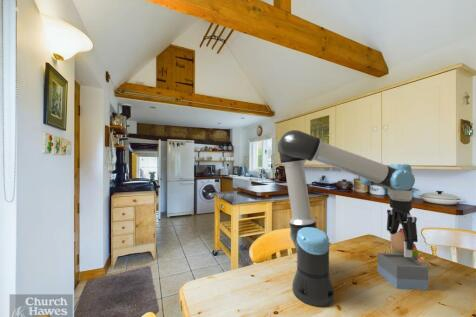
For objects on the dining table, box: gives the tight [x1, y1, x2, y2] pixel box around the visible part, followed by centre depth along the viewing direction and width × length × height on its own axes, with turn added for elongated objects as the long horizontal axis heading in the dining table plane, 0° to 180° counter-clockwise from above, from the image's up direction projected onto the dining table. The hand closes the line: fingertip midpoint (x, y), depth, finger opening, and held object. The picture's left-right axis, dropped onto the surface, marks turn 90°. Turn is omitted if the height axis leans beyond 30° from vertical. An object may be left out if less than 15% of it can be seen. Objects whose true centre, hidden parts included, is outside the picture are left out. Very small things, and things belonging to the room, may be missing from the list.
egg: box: [390, 231, 409, 254], centre depth 86 cm, size 7×7×9 cm
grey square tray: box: [377, 252, 429, 291], centre depth 86 cm, size 12×12×9 cm
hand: (401, 252), depth 86 cm, fingers closed on egg, 7 cm apart
